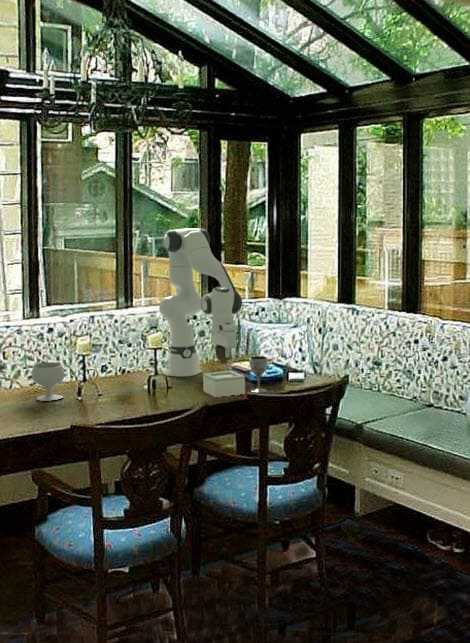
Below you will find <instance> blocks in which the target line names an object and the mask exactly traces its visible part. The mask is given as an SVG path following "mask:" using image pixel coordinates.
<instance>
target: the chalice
mask: <svg viewBox="0 0 470 643" xmlns="http://www.w3.org/2000/svg"><path fill="white" fill-rule="evenodd" d="M65 375H66V373H65V369H64V366H63V365H62V363H61V362H41V363H37V364H35V365H34V366H33V367H32V371H31V379H32V381H33V382H35V383H36V384H38V385H40V386H42V387H44V388H45V390H46V394H44V395H43V394H42V395H39V396H37V397H36V398H37V399H38V400H45V401H50V402H52V401H51V400H57V401H59V400H58V399H61V398H63V397H64V396H63V395H60V394H54V393H52V389H53V388H54V387H55V386H57V384H59V383H60V382H62V381H63V380H64V379H65ZM63 399H64V398H63ZM61 400H62V399H61Z"/></svg>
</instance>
